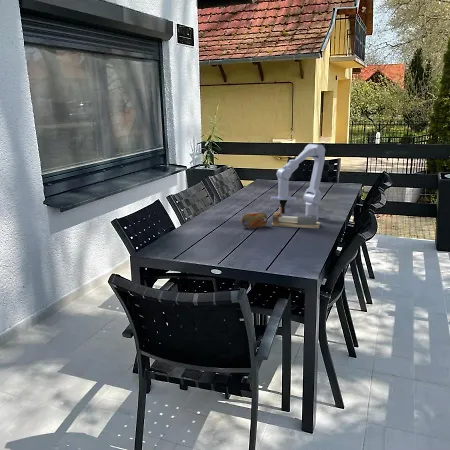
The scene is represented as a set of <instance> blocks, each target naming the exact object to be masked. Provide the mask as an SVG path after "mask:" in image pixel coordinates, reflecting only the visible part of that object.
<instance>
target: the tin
mask: <svg viewBox="0 0 450 450" xmlns="http://www.w3.org/2000/svg"><path fill="white" fill-rule="evenodd" d="M240 222H241V224H242V226H243V227H244V228H246V229H256V228H263V227H265V226H266V225H267V223H268V216H267V214H266V213H264V212H263V211H262V212H261V211H259V212H257V211H256V212H247V213H245V214H243V215H242V217H241V221H240Z"/></svg>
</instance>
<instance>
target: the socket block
mask: <svg viewBox="0 0 450 450" xmlns="http://www.w3.org/2000/svg"><path fill="white" fill-rule="evenodd" d="M278 216H279V211H274V212H273V214H272V222H273V224H278V223H279V221H278Z"/></svg>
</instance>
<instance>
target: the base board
mask: <svg viewBox="0 0 450 450" xmlns="http://www.w3.org/2000/svg"><path fill="white" fill-rule="evenodd" d="M270 225H271V227H284V228H299V229H300V228H305V229H320V226H321V221H320V222H319V221H316V225H299V224H298V222H282V221H279V223H278V224H273V221H272V222H271V224H270Z"/></svg>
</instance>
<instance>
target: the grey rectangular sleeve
mask: <svg viewBox="0 0 450 450" xmlns="http://www.w3.org/2000/svg"><path fill="white" fill-rule="evenodd" d="M297 217H298V224H299V225H316V222H317V221H316V216H315V215H306V214H298V216H297Z"/></svg>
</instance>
